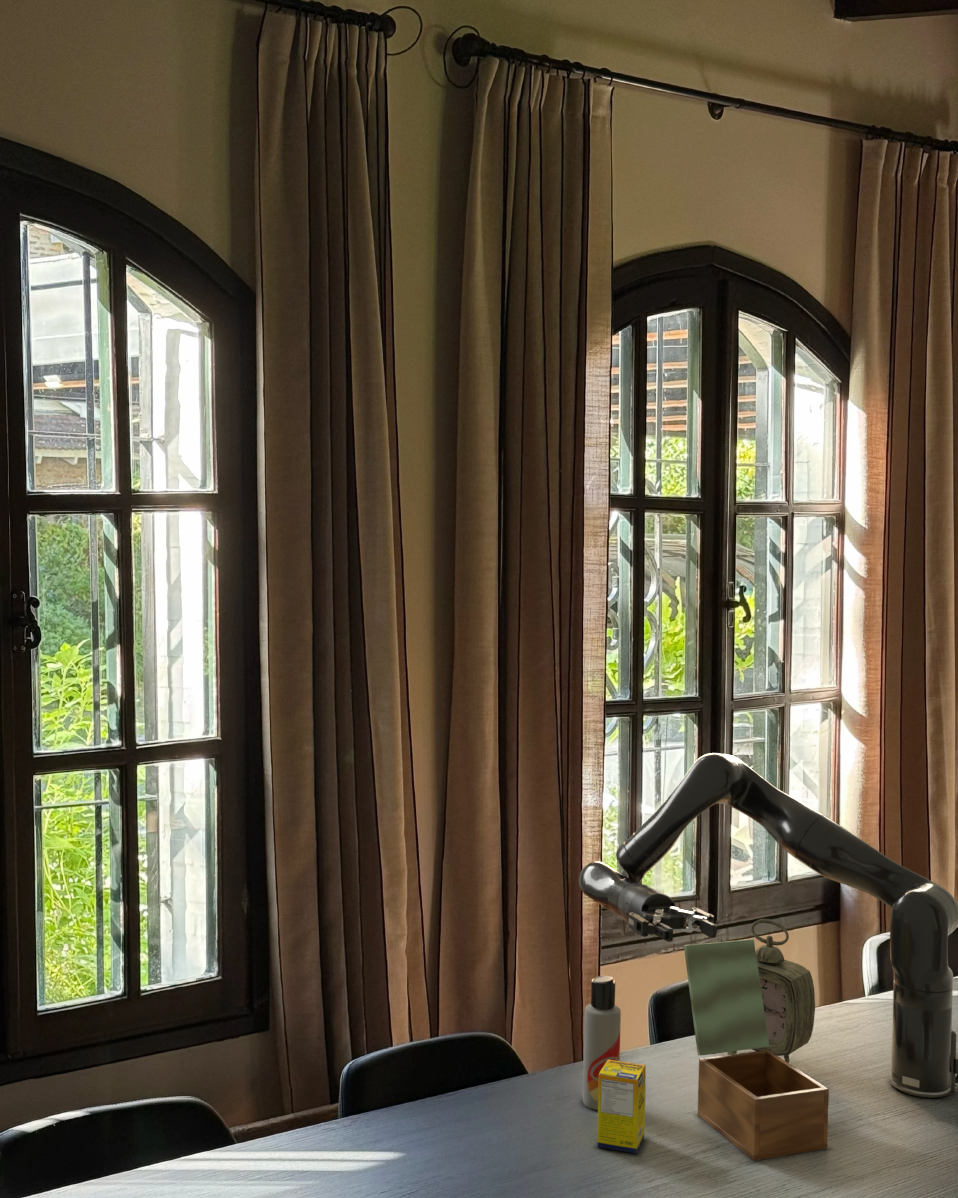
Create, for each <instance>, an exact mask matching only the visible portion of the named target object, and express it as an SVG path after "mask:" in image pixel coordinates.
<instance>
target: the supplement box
mask: <svg viewBox="0 0 958 1198" xmlns="http://www.w3.org/2000/svg"><path fill="white" fill-rule="evenodd" d="M646 1070H647V1069H646V1064H641V1063H633V1062H629V1061H628V1062H627V1061H621V1060H620V1061H615V1060H609V1059H608V1060H607V1062H606V1063H605V1065H604V1066H603V1068H602V1069H601V1071H600V1072H599V1078H598V1110H597V1148H601V1149H607V1150H612V1151H619V1152H626V1153H630V1154H638V1151H640V1147H641V1146H642V1143H643V1141H644V1139H645V1136H646V1135H645V1134H646V1133H645V1131H646V1077H647V1076H646V1074H647V1073H646Z"/></svg>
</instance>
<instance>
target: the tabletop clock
mask: <svg viewBox="0 0 958 1198" xmlns="http://www.w3.org/2000/svg"><path fill="white" fill-rule="evenodd" d="M759 924H769V925H773V926H776V927H778V928H779V929H781V930H782V931H783V932H784V934H785V939H784V940H780V941H776V940H774V938H773V936H772V935H767V936H766V938H763V937H761V936H760V935H758V934H757V933H756V932H755V927H756V926H758V925H759ZM750 930H751V933H752V935H753V937H754V938H755V939H756V940H757V941H759V942H761V943H763V944H764V945H760V946H759V947H758V948H756V949H755V951H756V958H757V965H758V972H759V979H760V986H761V992H762V999H763V1006H764V1013H765V1020H766V1027H767V1034H768V1041H769V1047H763V1048H755V1049H750V1050H751V1051H753V1052H755V1051H762V1050H769V1051H771V1052H772V1053H774V1054H775V1055H777V1056H778V1057H783V1060H785V1061H786V1062H788V1063H789V1064H790V1054H793V1053H794V1052H796V1051H797V1050H799V1049H800V1048H802V1047H803V1046H805V1045H807V1044H808V1043H809V1041H810V1040H811V1037H812V1035H813V1030H814V1023H815V1014H816V996H815V995H816V994H815V985H814V980H813V976H812V974H811V971H810V970H809V969H808V968H806V967H805V966H803V965H802V964H799V963H797V962H793V961H791V960H788V959H785V956H784V955H783V952H782V951H781V949H780V948H779V947H778V946H782V945H785V944H786V943H788V941H789V940H790V939H789V938H790V937H789V932H788V929H787V928H786V927H785V926H784V925H783V924H781V923H780V922H778V921H776V920H774V919H769V918H761V919H757V920H756V921H754V922H753V923H752V925H751V929H750ZM726 1053H727V1054H726V1055H732V1054H738V1053H737V1051H732V1052H726Z"/></svg>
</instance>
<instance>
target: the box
mask: <svg viewBox="0 0 958 1198" xmlns="http://www.w3.org/2000/svg"><path fill="white" fill-rule="evenodd" d="M697 1084H698V1087H697V1116H699V1117H700V1119H702V1120H703V1121H704V1122H706V1123H707V1124H708V1125H710V1126H711V1128H713V1129H715V1130H716V1132H718V1133H719V1134H720V1135H722V1136H723V1137H724V1138H726V1139H727V1140H728V1142H731V1143H732V1145H734V1146H735V1147H736V1148H738V1149H739V1150H740V1151H741V1152H743V1153H744V1154H745V1155H746V1156H747V1157H748V1158H750V1159H751V1160H752V1161H761V1160H767V1159H773V1158H779V1157H785V1156H790V1155H797V1154H803V1153H809V1152H815V1151H821V1150H827V1149H828V1142H829V1141H828V1140H829V1139H828V1136H829V1104H830V1103H829V1102H830V1101H829V1098H830V1097H829V1096H830V1089H829V1088H828V1087H826V1086H825V1085H824V1084H822V1083H820V1082H819V1081H817V1080H815V1079H814V1078H813V1077H811V1076H809V1075H808V1074H807V1073H805V1072H803V1071H801V1070H800V1069H798V1068H797V1067H795V1066H794V1065H792V1064H791V1063H790V1062H789V1063H788V1062H786V1061H785V1059H784V1058H782V1057H781V1056H777V1055H775V1054H774V1053H772V1052H771V1051H769V1050H762V1051H748V1052H739V1053H737V1054H732V1055H727V1054H726V1055H725V1054H724V1055H717V1056H710V1057H702V1058H699V1059H698V1082H697Z"/></svg>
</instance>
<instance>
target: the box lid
mask: <svg viewBox="0 0 958 1198" xmlns="http://www.w3.org/2000/svg"><path fill="white" fill-rule="evenodd" d="M683 951H684V959H685V966H686V974H687V981H688V983H687V984H688V989H689V998H690V1005H691V1006H690V1007H691V1013H692V1019H693V1020H692V1021H693V1028H694V1029H693V1030H694V1035H695V1045H696V1053H697V1056H708V1055H716V1054H724V1053H728V1052H732V1051H736V1052H738V1051H739V1052H740V1051H746V1050H751V1049H755V1048H763V1047H769V1041H768V1034H767V1027H766V1020H765V1013H764V1006H763V999H762V992H761V986H760V979H759V972H758V965H757V958H756V945H755V939H754V938H750V939H749V938H748V939H739V940H729V941H718V942H717V941H716V942H715V941H714V942H706V943H705V942H704V943H694V944H685V945H683Z"/></svg>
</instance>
